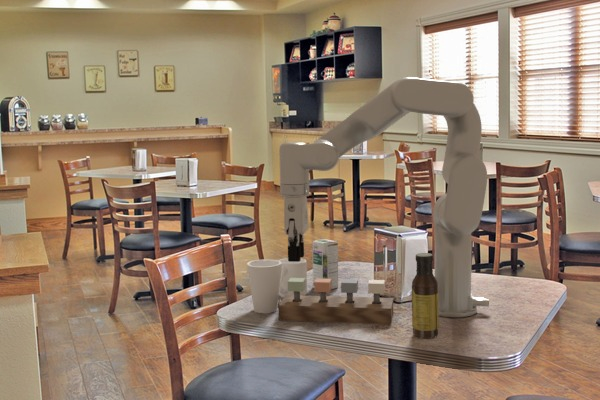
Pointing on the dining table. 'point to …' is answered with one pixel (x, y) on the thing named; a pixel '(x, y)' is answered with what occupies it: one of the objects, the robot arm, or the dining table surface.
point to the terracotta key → (322, 287)
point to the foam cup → (264, 284)
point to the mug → (292, 275)
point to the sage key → (296, 287)
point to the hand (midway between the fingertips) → (296, 258)
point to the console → (336, 309)
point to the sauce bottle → (425, 299)
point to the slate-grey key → (349, 288)
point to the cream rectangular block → (376, 289)
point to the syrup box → (325, 260)
